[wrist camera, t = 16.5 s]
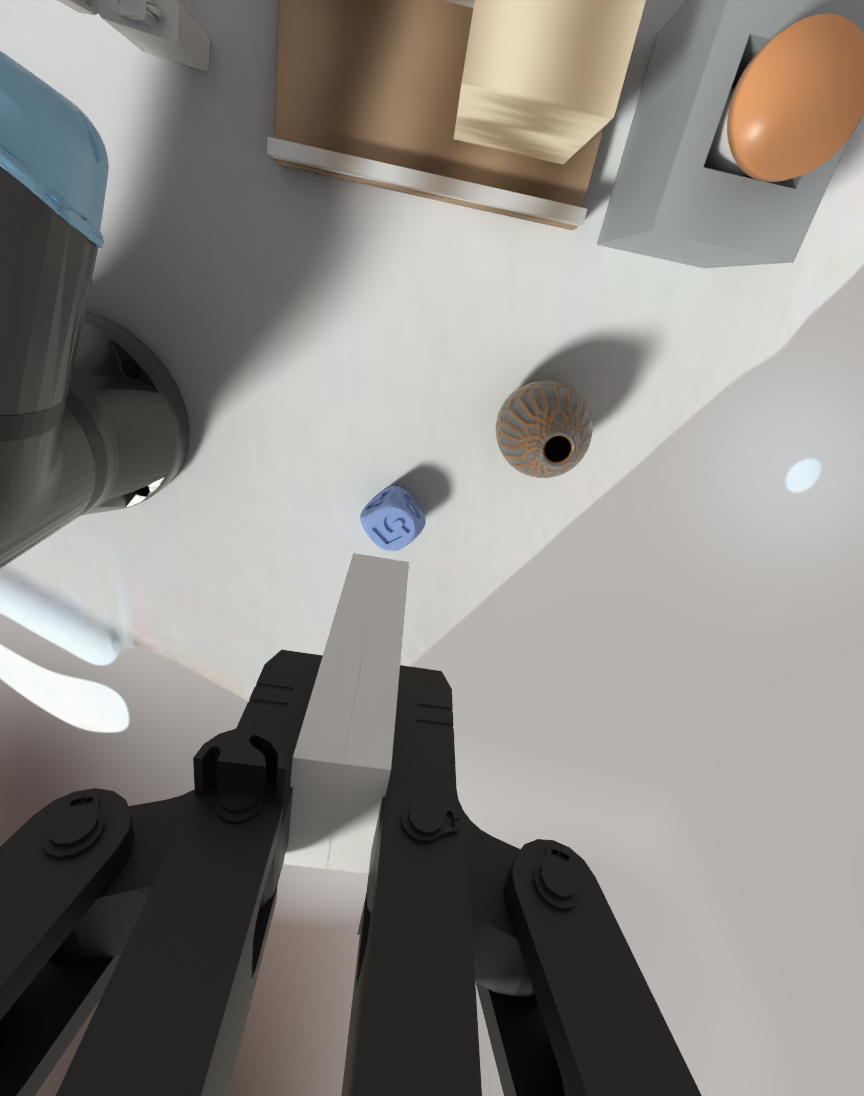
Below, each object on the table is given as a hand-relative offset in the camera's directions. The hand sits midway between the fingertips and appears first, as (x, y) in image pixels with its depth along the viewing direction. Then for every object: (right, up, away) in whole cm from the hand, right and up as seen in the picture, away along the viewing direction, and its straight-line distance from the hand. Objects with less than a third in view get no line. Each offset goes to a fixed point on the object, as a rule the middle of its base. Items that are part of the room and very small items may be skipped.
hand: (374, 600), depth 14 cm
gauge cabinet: (+18, +27, +19) cm, 38 cm away
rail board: (+2, +29, +18) cm, 34 cm away
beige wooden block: (+7, +28, +16) cm, 33 cm away
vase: (+10, +12, +27) cm, 31 cm away
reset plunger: (+18, +25, +15) cm, 34 cm away
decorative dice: (-2, +5, +31) cm, 31 cm away
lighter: (-15, +32, +17) cm, 40 cm away
